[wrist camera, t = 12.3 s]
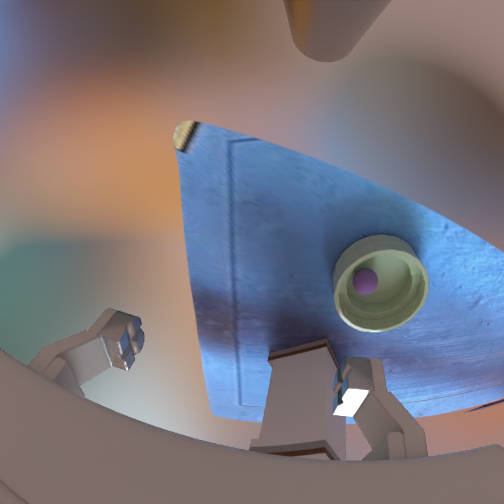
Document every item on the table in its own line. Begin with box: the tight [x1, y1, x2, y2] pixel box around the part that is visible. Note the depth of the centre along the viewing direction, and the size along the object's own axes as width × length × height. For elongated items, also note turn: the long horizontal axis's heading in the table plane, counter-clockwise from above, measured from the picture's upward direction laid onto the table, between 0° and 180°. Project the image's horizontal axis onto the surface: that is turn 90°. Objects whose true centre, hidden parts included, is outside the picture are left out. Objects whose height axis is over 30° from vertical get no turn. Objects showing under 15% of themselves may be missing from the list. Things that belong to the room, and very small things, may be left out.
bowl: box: [332, 234, 429, 333], centre depth 38 cm, size 13×13×5 cm
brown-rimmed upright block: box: [249, 338, 346, 461], centre depth 35 cm, size 11×11×35 cm
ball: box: [353, 268, 378, 295], centre depth 38 cm, size 4×4×4 cm
